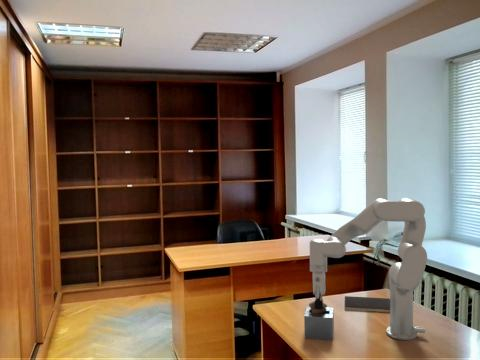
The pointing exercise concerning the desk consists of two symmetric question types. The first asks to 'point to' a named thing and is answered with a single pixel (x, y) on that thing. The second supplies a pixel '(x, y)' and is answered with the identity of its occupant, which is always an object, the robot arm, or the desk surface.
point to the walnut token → (312, 306)
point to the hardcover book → (367, 304)
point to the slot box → (319, 324)
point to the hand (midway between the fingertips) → (318, 307)
